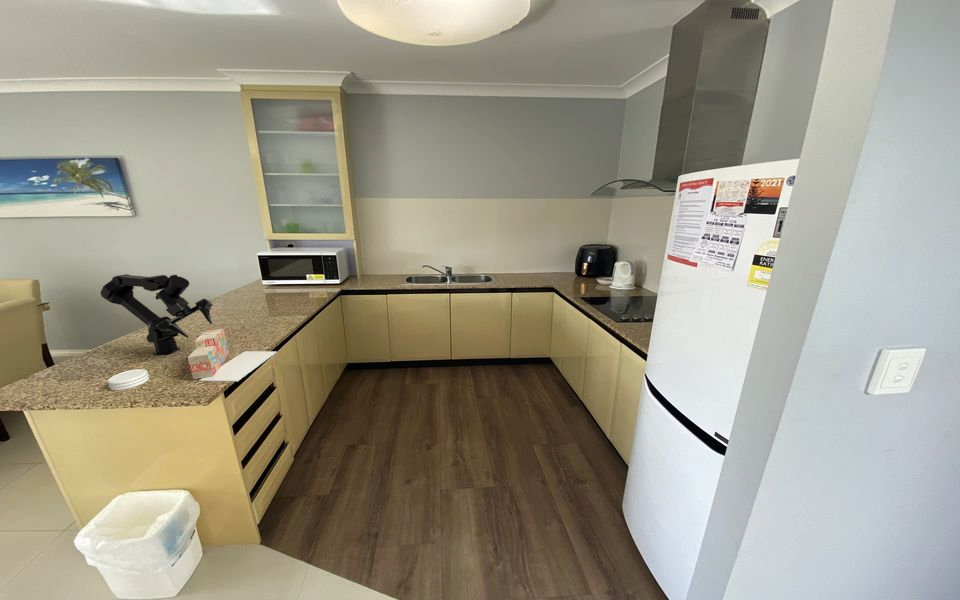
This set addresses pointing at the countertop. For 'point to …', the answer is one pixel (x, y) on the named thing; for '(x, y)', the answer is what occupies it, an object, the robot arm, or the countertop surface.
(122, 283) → the robot arm
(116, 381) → the white ridged disc
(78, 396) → the countertop surface
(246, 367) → the mat
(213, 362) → the stack of blocks
